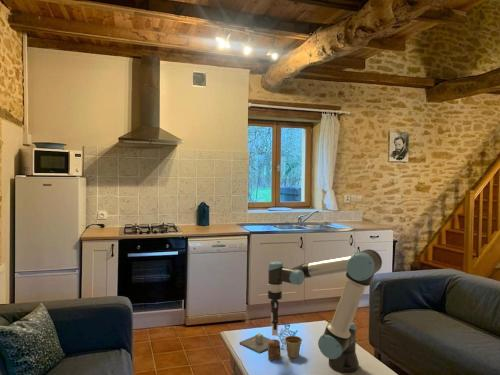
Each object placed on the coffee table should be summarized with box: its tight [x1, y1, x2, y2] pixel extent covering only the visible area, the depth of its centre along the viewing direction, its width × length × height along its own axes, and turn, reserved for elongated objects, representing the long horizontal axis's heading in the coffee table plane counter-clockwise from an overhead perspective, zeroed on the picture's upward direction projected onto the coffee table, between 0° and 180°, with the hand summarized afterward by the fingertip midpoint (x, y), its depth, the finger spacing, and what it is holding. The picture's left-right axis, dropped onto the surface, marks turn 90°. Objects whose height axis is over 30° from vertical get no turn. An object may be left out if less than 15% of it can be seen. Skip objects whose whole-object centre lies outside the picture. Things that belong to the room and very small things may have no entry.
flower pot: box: [284, 335, 303, 358], centre depth 200 cm, size 9×9×9 cm
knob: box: [267, 339, 281, 360], centre depth 198 cm, size 6×6×8 cm
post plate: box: [239, 333, 272, 354], centre depth 213 cm, size 16×16×6 cm
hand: (273, 329), depth 198 cm, fingers open, 13 cm apart
